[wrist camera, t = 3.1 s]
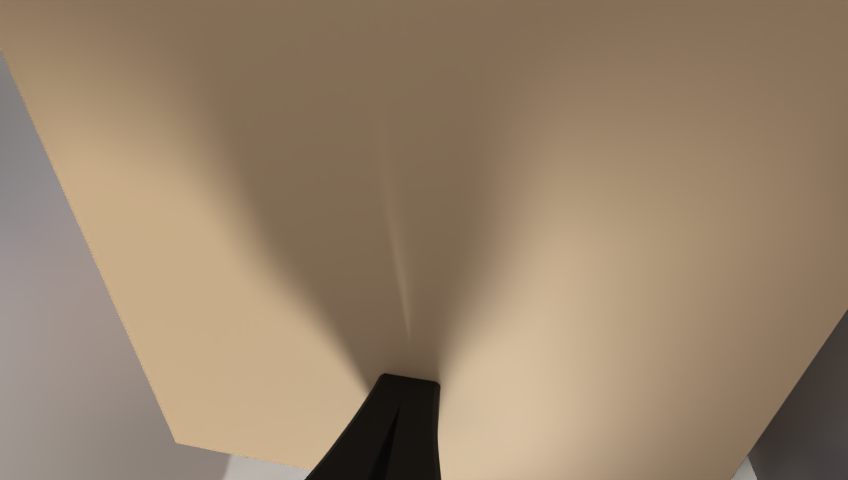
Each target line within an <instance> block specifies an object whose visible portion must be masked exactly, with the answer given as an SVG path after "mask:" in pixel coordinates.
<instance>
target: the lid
mask: <svg viewBox="0 0 848 480" xmlns="http://www.w3.org/2000/svg"><path fill="white" fill-rule="evenodd" d="M0 50H1V52H2V54H3V56H4V59H5V61H6V63H7V65H8V68H9V70H10V72H11V74H12V77H13V79H14V81H15V83H16V86H17V88H18V90H19V92H20V94H21V97H22V99H23V101H24V103H25V105H26V108H27V110H28V112H29V115H30V117H31V119H32V121H33V123H34V126H35V128H36V130H37V132H38V135H39V137H40V139H41V141H42V144H43V146H44V148H45V150H46V153H47V155H48V157H49V159H50V161H51V164H52V166H53V168H54V171H55V173H56V175H57V177H58V179H59V182H60V184H61V186H62V188H63V191H64V193H65V195H66V197H67V199H68V202H69V204H70V206H71V208H72V211H73V213H74V215H75V218H76V220H77V222H78V224H79V226H80V229H81V231H82V233H83V235H84V238H85V240H86V242H87V244H88V247H89V249H90V251H91V253H92V256H93V258H94V260H95V262H96V264H97V267H98V269H99V271H100V273H101V276H102V278H103V280H104V282H105V285H106V287H107V289H108V291H109V293H110V296H111V298H112V300H113V303H114V305H115V307H116V309H117V312H118V314H119V316H120V318H121V320H122V323H123V325H124V327H125V329H126V332H127V334H128V336H129V338H130V341H131V343H132V345H133V347H134V349H135V352H136V354H137V356H138V359H139V361H140V363H141V365H142V367H143V370H144V372H145V374H146V376H147V379H148V381H149V383H150V385H151V388H152V390H153V392H154V394H155V397H156V398H157V401H158V403H159V405H160V408H161V410H162V412H163V414H164V417H165V419H166V421H167V423H168V426H169V428H170V430H171V432H172V435H173V437H174V439H175V441H176V443H180V444H185V445H190V446H194V447H199V448H204V449H209V450H214V451H219V452H225V453H229V454H234V455H239V456H244V457H249V458H254V459H259V460H264V461H269V462H274V463H278V464H283V465H288V466H293V467H298V468H303V469H308V470H313V469H314V468H315V467H316V465H317V464H318V463H319V462H320V461H321V459H322V458H323V457H324V456H325V454H326V453H327V452H328V451H329V449H330V448H331V447H332V445H333V444H334V443H335V441H336V440H337V439H338V437H339V436H340V435H341V433H342V432H343V431H344V429H345V428H346V427H347V425H348V424H349V423H350V421H351V420H352V418H353V417H354V415H355V414H356V413H357V411H358V410H359V408H360V407H361V405H362V404H363V402H364V401H365V399H366V398H367V396H368V395H369V393H370V391H371V390H372V388H373V387H374V385H375V383H376V381H377V380H378V378H379V376H380V375H382V374H384V373H387V374H393V375H399V376H405V377H411V378H417V379H424V380H430V381H436V382H437V383H438V384H439V385H440V386H441V390H440V406H439V421H438V448H439V460H440V470H441V480H731V478H732V477H733V475H734V474H735V472H736V471H737V469H738V468H739V467H740V465H741V464H742V462H743V461H744V459H745V458H746V456H747V455H748V453H749V452H750V451H751V449H752V448H753V446H754V445H755V443H756V442H757V440H758V439H759V437H760V436H761V434H762V433H763V432H764V430H765V429H766V427H767V426H768V424H769V423H770V421H771V420H772V418H773V417H774V416H775V414H776V413H777V411H778V410H779V408H780V407H781V405H782V404H783V402H784V401H785V400H786V398H787V397H788V395H789V394H790V392H791V391H792V389H793V388H794V386H795V385H796V384H797V382H798V381H799V379H800V378H801V376H802V375H803V373H804V372H805V370H806V369H807V368H808V366H809V365H810V363H811V362H812V360H813V359H814V357H815V356H816V354H817V353H818V351H819V350H820V349H821V347H822V346H823V344H824V343H825V341H826V340H827V338H828V337H829V335H830V334H831V333H832V331H833V330H834V328H835V327H836V325H837V324H838V322H839V321H840V319H841V318H842V317H843V315H844V314H845V312H846V311H847V309H848V0H0Z"/></svg>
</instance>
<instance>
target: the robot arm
mask: <svg viewBox="0 0 848 480" xmlns="http://www.w3.org/2000/svg"><path fill="white" fill-rule="evenodd" d="M440 390H441V386H440V385H439V384H438V383H437V382H436V381H430V380H424V379H417V378H411V377H405V376H399V375H393V374H387V373H384V374H382V375H380V376H379V378H378V380H377V381H376V383H375V385H374V387H373V388H372V390H371V391H370V393H369V395H368V396H367V398H366V399H365V401H364V402H363V404H362V405H361V407H360V408H359V410H358V411H357V413H356V414H355V415H354V417H353V418H352V420H351V421H350V423H349V424H348V425H347V427H346V428H345V429H344V431H343V432H342V433H341V435H340V436H339V437H338V439H337V440H336V441H335V443H334V444H333V445H332V447H331V448H330V449H329V451H328V452H327V453H326V454H325V456H324V457H323V458H322V459H321V461H320V462H319V463H318V464H317V465H316V467H315V468H314V469H313V470H312V471H311V473H310V474H309V475H308V476H307V477H306V479H305V480H441V470H440V460H439V448H438V421H439V406H440Z"/></svg>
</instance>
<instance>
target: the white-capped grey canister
mask: <svg viewBox="0 0 848 480" xmlns="http://www.w3.org/2000/svg"><path fill="white" fill-rule="evenodd" d="M748 458H749V460H750V463H751V465H752V468H753V470H754V472H755V475H756V477H757V480H848V309H847V311H846V312H845V314H844V315H843V317H842V318H841V319H840V321H839V322H838V324H837V325H836V327H835V328H834V330H833V331H832V333H831V334H830V335H829V337H828V338H827V340H826V341H825V343H824V344H823V346H822V347H821V349H820V350H819V351H818V353H817V354H816V356H815V357H814V359H813V360H812V362H811V363H810V365H809V366H808V368H807V369H806V370H805V372H804V373H803V375H802V376H801V378H800V379H799V381H798V382H797V384H796V385H795V386H794V388H793V389H792V391H791V392H790V394H789V395H788V397H787V398H786V400H785V401H784V402H783V404H782V405H781V407H780V408H779V410H778V411H777V413H776V414H775V416H774V417H773V418H772V420H771V421H770V423H769V424H768V426H767V427H766V429H765V430H764V432H763V433H762V434H761V436H760V437H759V439H758V440H757V442H756V443H755V445H754V446H753V448H752V449H751V451H750V452H749V453H748Z"/></svg>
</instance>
